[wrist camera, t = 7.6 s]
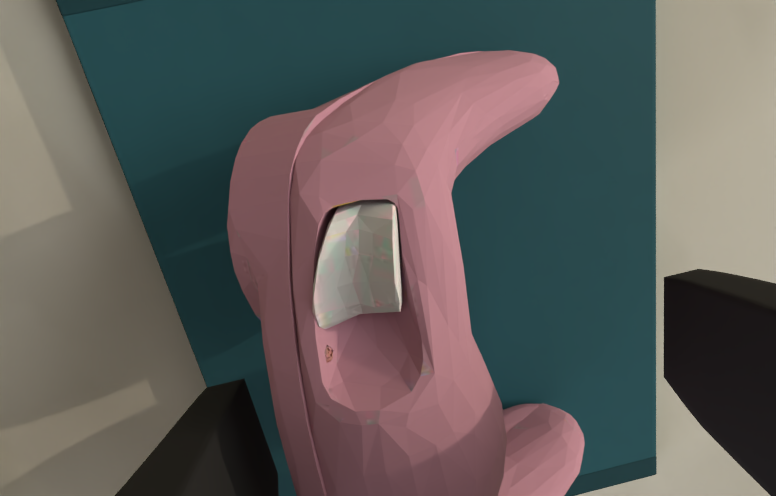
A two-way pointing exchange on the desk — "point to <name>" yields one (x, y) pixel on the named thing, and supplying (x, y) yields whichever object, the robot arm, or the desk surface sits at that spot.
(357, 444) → the video game controller
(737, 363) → the robot arm
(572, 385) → the teal board
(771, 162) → the desk surface
